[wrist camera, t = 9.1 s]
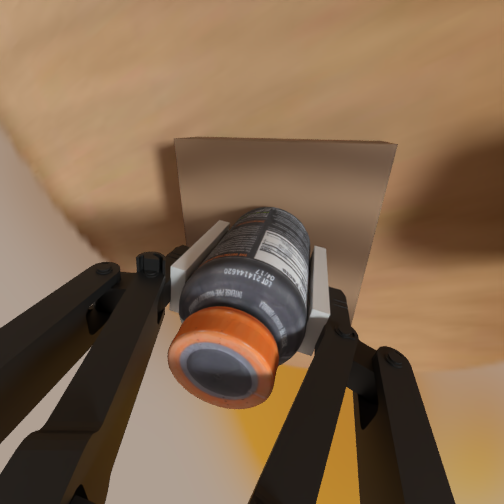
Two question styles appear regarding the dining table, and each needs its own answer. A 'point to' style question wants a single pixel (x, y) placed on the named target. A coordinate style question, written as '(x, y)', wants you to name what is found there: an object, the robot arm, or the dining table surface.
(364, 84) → the dining table surface
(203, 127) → the dining table surface
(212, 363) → the pill bottle
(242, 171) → the walnut block
